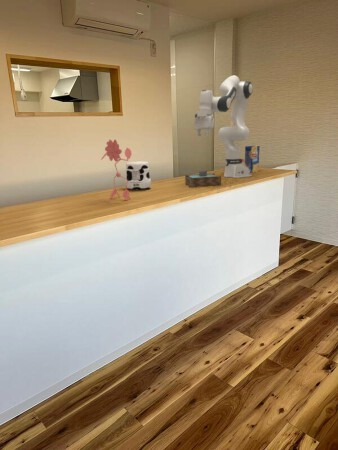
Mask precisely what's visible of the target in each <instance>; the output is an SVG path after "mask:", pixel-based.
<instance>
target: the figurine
mask: <svg viewBox="0 0 338 450" xmlns="http://www.w3.org/2000/svg"><path fill="white" fill-rule="evenodd" d="M104 150H105V153H104V155H102V157H101V159H100V160H103V159H104V158H105V157H106V156H107V157H108V158H109V161H111V162H112V161H113V160H114V162H115V163H114V167H115V170H116V173H115V176H114V177H113V182H114V183H113V184H114V186H116V181H115V178H123V179H124V180H125V181H126V180H127V182H128V179H126V178H125V177H123V176H122V175H121V173H120V172H119V171H118V168H117V164H118V163H119V162H120V161H126V162H129V160H130V158H131V157H132V150H131V149H130V148H128V147H126V149H125V150H124V155H125V157H126V159H125V158H121V156H120V155H121V154H122V152H123V151H122V149H120V145H119V143H118V141H117V139H114V140H111V139H108V141H107V142H106V147H105V148H104ZM125 185H126V184H125ZM116 194H117V197H118V198H121V196H120V194H119V193H118V188H117V187H114V189H112V192H111V193H110V199H112V198H113V197H115V195H116ZM122 197H123V199H124V201H127V200H128V199H129V200H131V197H130V191H129V189H128V188H127V185H126V187H125V189H124V191H123V193H122ZM105 203H106V204H108V202H107V201H105ZM114 204H118V205H119V202H116V203H115V202H114Z"/></svg>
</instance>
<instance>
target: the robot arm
mask: <svg viewBox="0 0 338 450" xmlns="http://www.w3.org/2000/svg"><path fill="white" fill-rule="evenodd" d="M253 90H254V85H253V83H252V81H247V80H246V81H244V80H243V81H240V78H239V76H237V75H234V74H233V75H230V76H228V77H227V78H226V79H224V81H223V82H222V83H221V84H220V86H219V93H220V94H221V96H214V95H213V93H214V92H213V90H212V89H202V90H201V91H200V93H199V99H198V105H199V106H198V110H197V112H196V114H194V116H193V117H194V123H193V129H194V130H196V131H197V136H198V137H201V136H202V133H201V131H202V130H205V132H204V136H205V137H208V136H209V133H210V131H211V129H214V127H215V120H214V114H213V113H217V112H218V113H219V112H220V113H226V112H228V111H229V109H230V108H231V105H232V103H233V105H232V109H231V113H230V120H231V122H233V123H234V125H233V126H223V127H221V128H220V129H219V131H218V133H217V134H218V138H219V139H220V140H221V141H222V143H223V144H224V147H225V162H224V164H225V165H224V166H225V169H224V173H223V177H225V178H235V179H239V178H248V177H252V176H253V174H252V173H249V169H248V168H247V167H246V166H245V158H243V159H242V158H241V148H240V146H238V145H237V144H236V142H242V141H247V140H248V139H249V137H250V134H251V133H250V129H249V127H248V126H247V125H246V122H245V121H246V113H247V108H248V99H249V97H250V96H251V95H252V94H253Z"/></svg>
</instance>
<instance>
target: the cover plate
mask: <svg viewBox="0 0 338 450" xmlns="http://www.w3.org/2000/svg"><path fill="white" fill-rule="evenodd" d="M198 174H199V175H196V174H190V175H191V176H188V177H189V178H198V177H214V176H216V174H215V175H213V173H208V172H207V170H199V171H198Z"/></svg>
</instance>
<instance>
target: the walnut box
mask: <svg viewBox="0 0 338 450" xmlns="http://www.w3.org/2000/svg"><path fill="white" fill-rule="evenodd" d="M212 174H213V175H215V176H214V177H198V178H189V177H188V176H191V175H192V174H185V175H184V178H185V180H184V181H185V182H184V183H185V185H186V186H188V187H189V188H203V187H204V188H205V187H206V188H207V187H219V186H220V187H221V186H222V176H221V175H216V174H215V172H214V173H212ZM195 175H199V173H197V174H195Z"/></svg>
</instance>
